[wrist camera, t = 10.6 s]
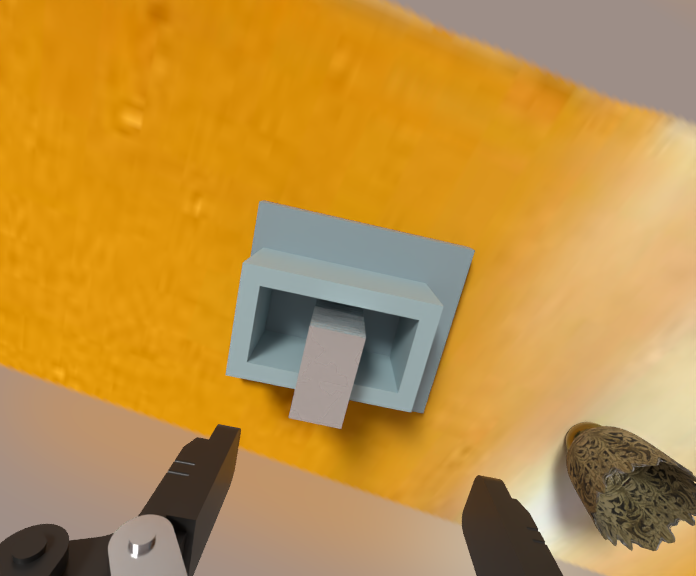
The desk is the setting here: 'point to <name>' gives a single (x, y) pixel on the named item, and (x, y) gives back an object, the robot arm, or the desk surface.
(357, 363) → the grey painted wood block
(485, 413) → the desk surface
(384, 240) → the well board
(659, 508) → the cup
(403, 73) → the desk surface
